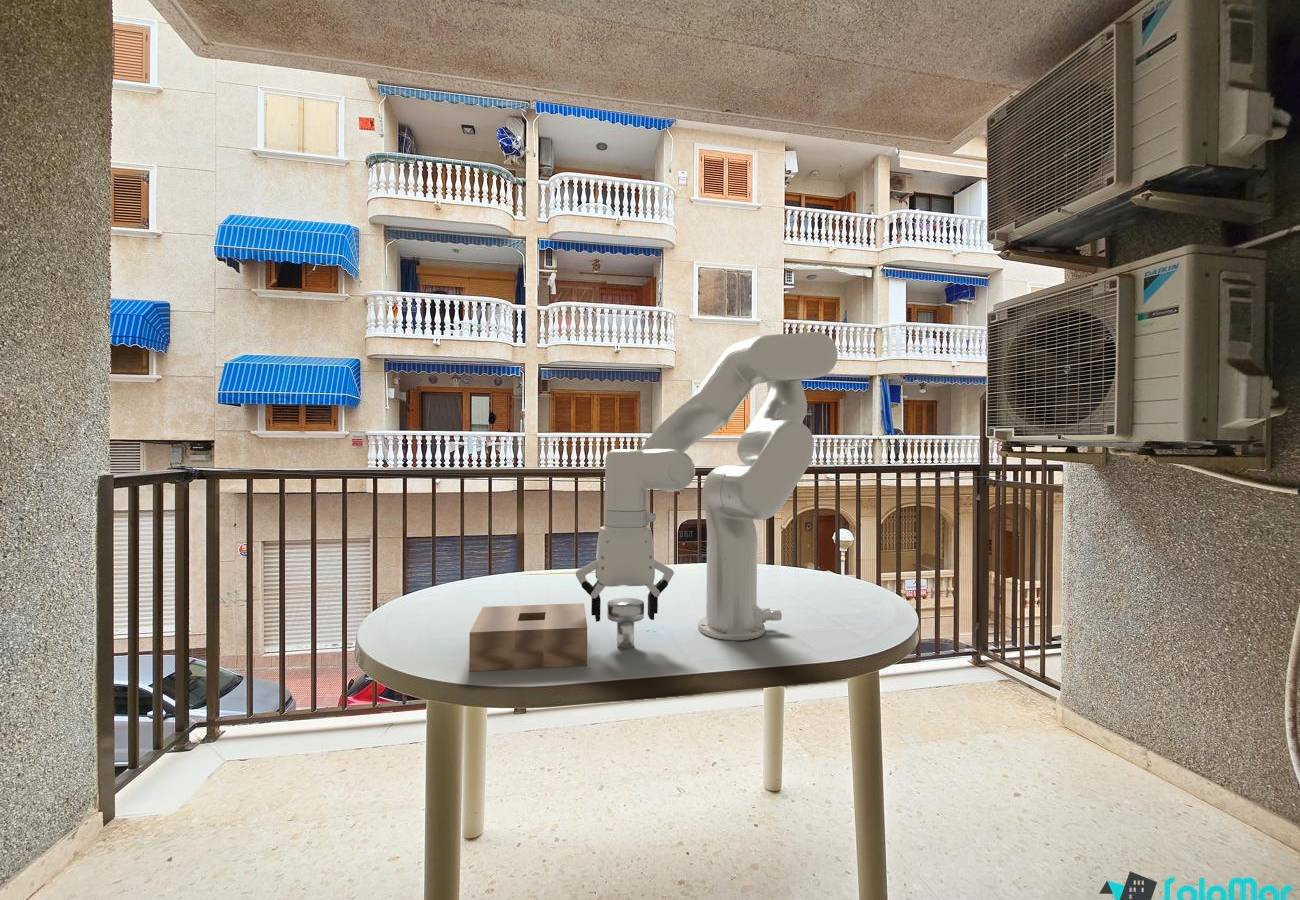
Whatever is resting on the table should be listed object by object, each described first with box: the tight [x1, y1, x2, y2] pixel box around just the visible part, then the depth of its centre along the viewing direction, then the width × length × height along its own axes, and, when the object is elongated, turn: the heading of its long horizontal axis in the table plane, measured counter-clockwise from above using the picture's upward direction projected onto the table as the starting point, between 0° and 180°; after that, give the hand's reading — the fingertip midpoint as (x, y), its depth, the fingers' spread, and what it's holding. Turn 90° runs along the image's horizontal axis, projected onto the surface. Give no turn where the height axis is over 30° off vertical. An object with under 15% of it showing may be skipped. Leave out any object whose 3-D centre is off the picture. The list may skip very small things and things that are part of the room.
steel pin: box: [606, 597, 645, 650], centre depth 97 cm, size 6×6×8 cm
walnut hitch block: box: [468, 602, 588, 672], centre depth 93 cm, size 18×14×6 cm
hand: (624, 618), depth 97 cm, fingers open, 9 cm apart
